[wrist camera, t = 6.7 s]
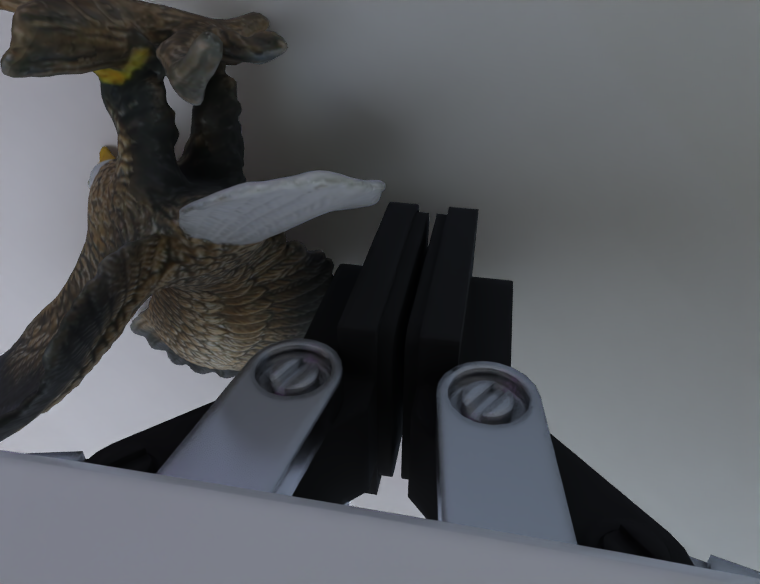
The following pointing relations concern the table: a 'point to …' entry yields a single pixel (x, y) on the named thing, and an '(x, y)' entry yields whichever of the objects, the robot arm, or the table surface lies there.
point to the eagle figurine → (168, 203)
